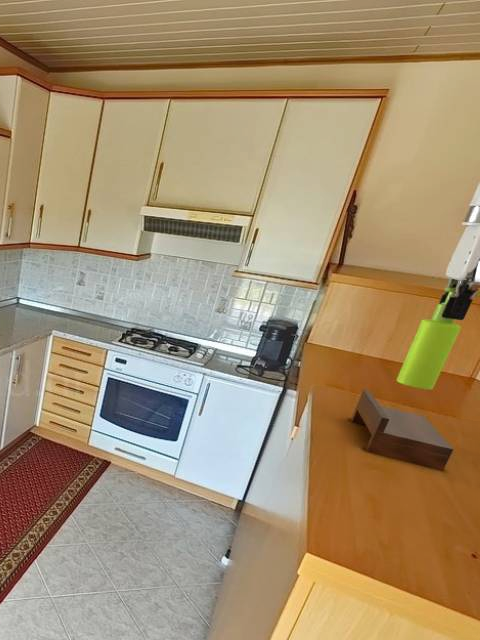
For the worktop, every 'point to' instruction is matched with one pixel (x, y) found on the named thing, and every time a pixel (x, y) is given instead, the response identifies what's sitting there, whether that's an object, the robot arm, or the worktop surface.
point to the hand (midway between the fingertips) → (448, 316)
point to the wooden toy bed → (401, 434)
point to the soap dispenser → (430, 349)
